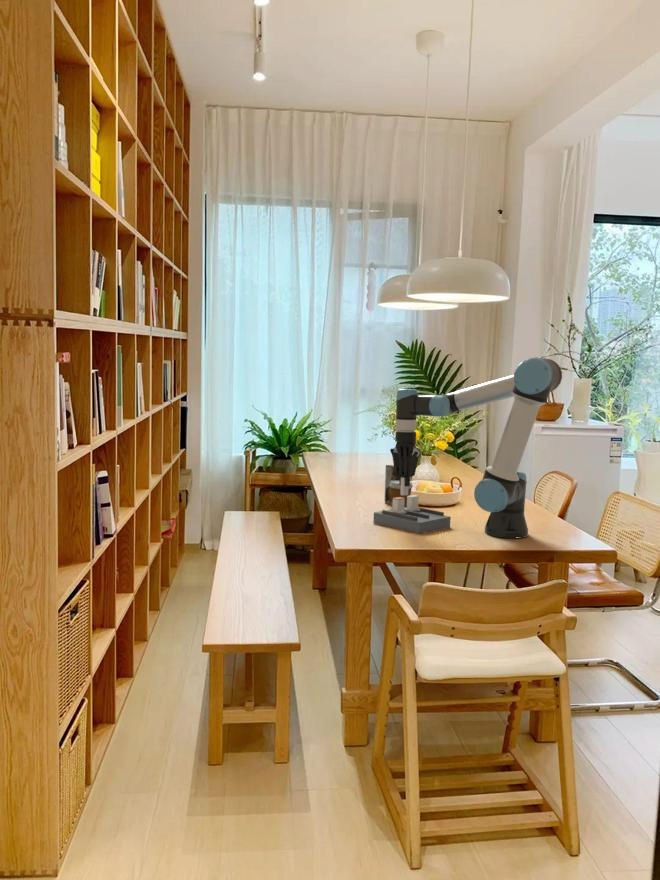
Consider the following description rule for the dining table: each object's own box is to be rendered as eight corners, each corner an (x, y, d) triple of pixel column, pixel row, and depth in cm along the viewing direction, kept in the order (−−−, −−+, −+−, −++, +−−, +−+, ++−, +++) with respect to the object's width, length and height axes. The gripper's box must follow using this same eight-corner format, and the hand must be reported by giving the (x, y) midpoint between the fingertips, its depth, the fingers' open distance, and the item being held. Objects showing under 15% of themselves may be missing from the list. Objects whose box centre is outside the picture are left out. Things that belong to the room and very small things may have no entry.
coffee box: (404, 502, 328) (406, 465, 326) (405, 504, 322) (407, 467, 320) (383, 501, 328) (385, 464, 326) (384, 504, 322) (386, 466, 320)
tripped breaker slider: (406, 513, 281) (407, 498, 280) (397, 515, 277) (398, 499, 277) (398, 511, 284) (398, 496, 283) (389, 513, 280) (390, 497, 279)
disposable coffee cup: (391, 513, 302) (393, 483, 300) (385, 508, 311) (386, 480, 310) (414, 513, 304) (416, 484, 302) (407, 508, 313) (409, 480, 312)
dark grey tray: (450, 527, 280) (451, 501, 279) (419, 533, 267) (420, 506, 266) (404, 517, 295) (405, 492, 294) (373, 522, 283) (374, 496, 282)
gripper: (426, 431, 274) (424, 496, 276) (398, 429, 283) (397, 491, 285) (413, 432, 269) (411, 498, 271) (385, 430, 278) (384, 493, 280)
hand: (404, 494), depth 278 cm, fingers closed
